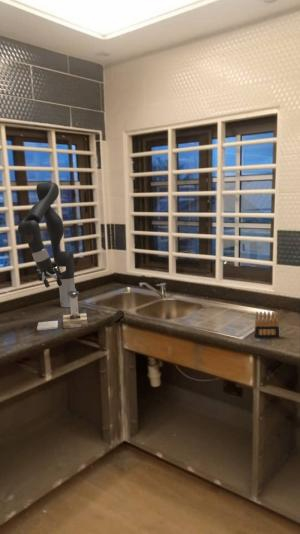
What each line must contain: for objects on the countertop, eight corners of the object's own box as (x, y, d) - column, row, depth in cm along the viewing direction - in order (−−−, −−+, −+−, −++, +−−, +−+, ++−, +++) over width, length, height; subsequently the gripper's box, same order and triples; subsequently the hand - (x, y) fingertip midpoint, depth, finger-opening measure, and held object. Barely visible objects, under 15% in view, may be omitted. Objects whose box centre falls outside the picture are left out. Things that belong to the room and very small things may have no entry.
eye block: (63, 321, 219) (63, 315, 218) (86, 319, 221) (86, 313, 220) (63, 328, 207) (63, 321, 207) (87, 326, 210) (87, 319, 209)
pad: (38, 324, 216) (38, 322, 215) (58, 322, 217) (57, 320, 217) (37, 330, 206) (36, 328, 206) (57, 328, 208) (57, 326, 208)
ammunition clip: (254, 337, 185) (255, 312, 183) (254, 336, 186) (254, 310, 184) (279, 337, 184) (279, 311, 182) (278, 336, 186) (278, 310, 183)
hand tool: (117, 316, 224) (117, 308, 223) (124, 317, 223) (123, 308, 222) (102, 328, 207) (102, 319, 206) (109, 328, 205) (109, 319, 205)
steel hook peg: (75, 321, 218) (73, 290, 215) (83, 322, 215) (81, 291, 212) (67, 324, 213) (64, 293, 210) (75, 326, 210) (73, 294, 207)
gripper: (56, 253, 208) (68, 281, 213) (36, 256, 215) (48, 284, 220) (47, 259, 202) (60, 288, 207) (27, 263, 209) (39, 290, 214)
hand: (54, 286), depth 214 cm, fingers open, 8 cm apart
